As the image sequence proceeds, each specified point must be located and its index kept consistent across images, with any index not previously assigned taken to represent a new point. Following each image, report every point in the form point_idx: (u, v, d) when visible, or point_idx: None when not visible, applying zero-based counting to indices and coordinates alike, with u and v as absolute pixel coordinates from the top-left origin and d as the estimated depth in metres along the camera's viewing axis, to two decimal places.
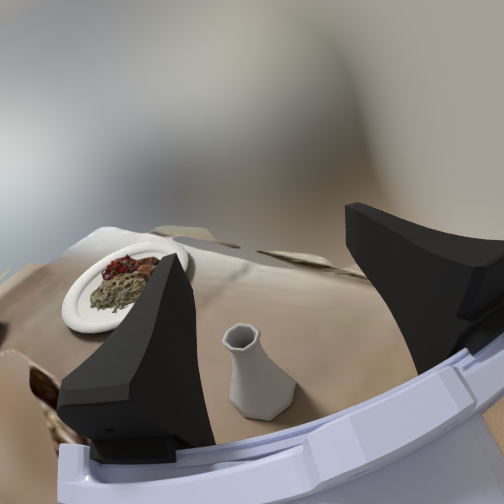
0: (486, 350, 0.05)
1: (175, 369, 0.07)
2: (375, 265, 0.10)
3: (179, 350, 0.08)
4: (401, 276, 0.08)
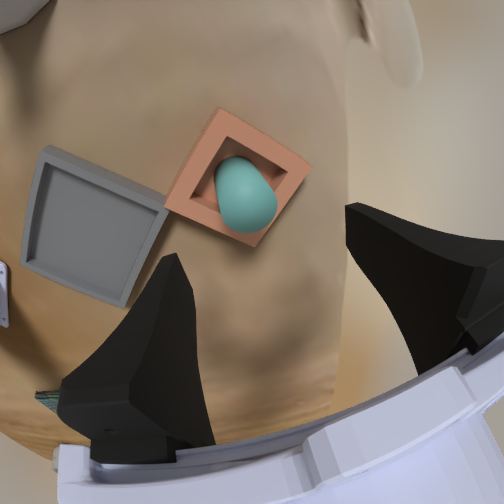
0: (486, 350, 0.05)
1: (175, 369, 0.07)
2: (375, 264, 0.10)
3: (179, 350, 0.08)
4: (401, 276, 0.08)
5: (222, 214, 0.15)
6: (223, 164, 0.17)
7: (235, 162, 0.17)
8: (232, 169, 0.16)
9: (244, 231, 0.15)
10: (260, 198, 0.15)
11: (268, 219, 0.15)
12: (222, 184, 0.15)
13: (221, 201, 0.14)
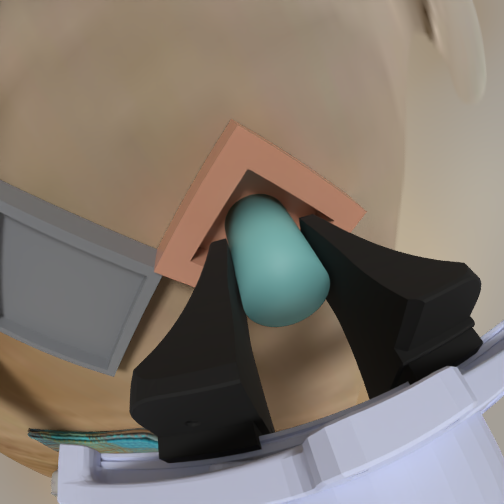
0: (486, 350, 0.05)
1: (246, 352, 0.07)
2: None
3: (243, 334, 0.08)
4: (347, 296, 0.08)
5: (245, 307, 0.09)
6: (241, 211, 0.12)
7: (260, 209, 0.11)
8: (258, 226, 0.10)
9: (277, 325, 0.10)
10: (306, 282, 0.09)
11: (313, 307, 0.10)
12: (243, 253, 0.10)
13: (244, 289, 0.09)
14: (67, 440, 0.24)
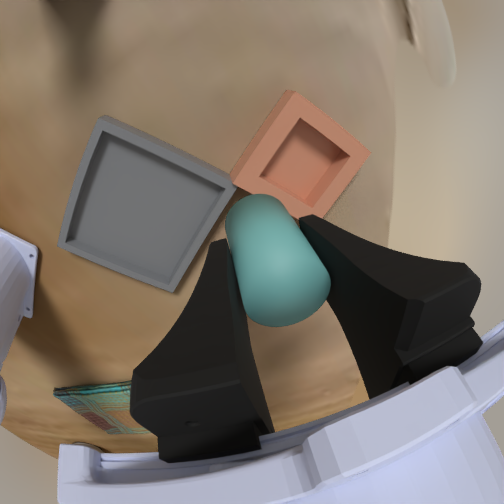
0: (486, 350, 0.05)
1: (246, 352, 0.07)
2: None
3: (243, 334, 0.08)
4: (347, 296, 0.08)
5: (246, 307, 0.09)
6: (241, 210, 0.12)
7: (260, 209, 0.11)
8: (258, 226, 0.10)
9: (277, 325, 0.10)
10: (307, 282, 0.09)
11: (314, 307, 0.10)
12: (244, 253, 0.10)
13: (245, 289, 0.09)
14: (96, 393, 0.29)
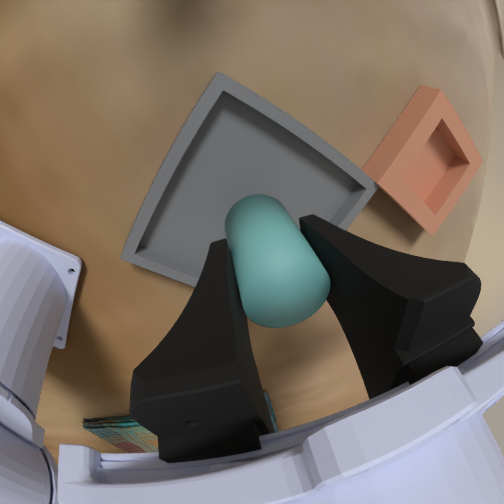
0: (486, 350, 0.05)
1: (246, 352, 0.07)
2: None
3: (243, 334, 0.08)
4: (347, 296, 0.08)
5: (245, 308, 0.09)
6: (241, 211, 0.12)
7: (260, 210, 0.11)
8: (258, 226, 0.10)
9: (277, 325, 0.10)
10: (307, 283, 0.09)
11: (314, 308, 0.10)
12: (243, 254, 0.10)
13: (244, 289, 0.09)
14: (140, 425, 0.25)
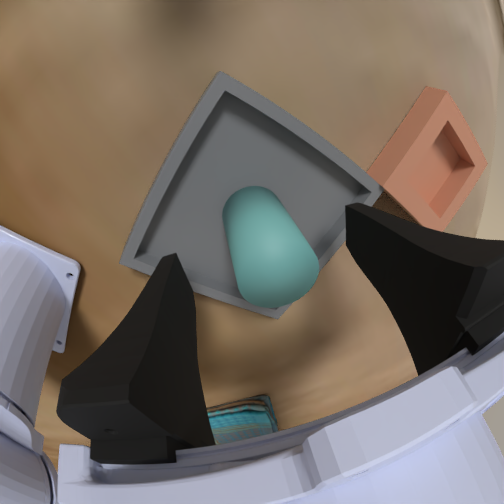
0: (486, 350, 0.05)
1: (175, 369, 0.07)
2: (375, 264, 0.10)
3: (179, 350, 0.08)
4: (401, 276, 0.08)
5: (240, 287, 0.10)
6: (237, 201, 0.13)
7: (254, 199, 0.12)
8: (252, 214, 0.11)
9: (270, 306, 0.11)
10: (296, 264, 0.10)
11: (304, 289, 0.11)
12: (238, 238, 0.11)
13: (239, 269, 0.10)
14: None
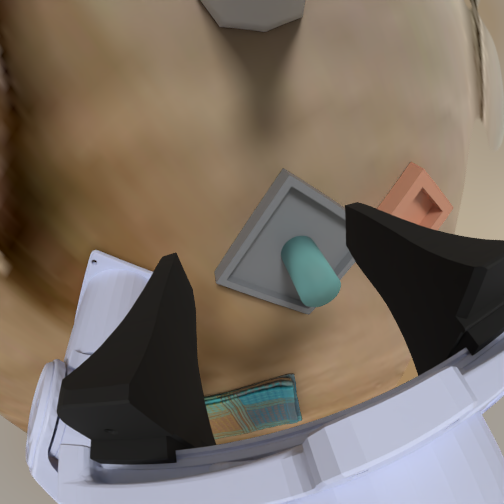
0: (486, 350, 0.05)
1: (175, 369, 0.07)
2: (374, 264, 0.10)
3: (179, 350, 0.08)
4: (401, 276, 0.08)
5: (301, 297, 0.19)
6: (293, 246, 0.22)
7: (304, 246, 0.21)
8: (305, 257, 0.20)
9: (314, 306, 0.20)
10: (330, 284, 0.19)
11: (332, 297, 0.20)
12: (299, 271, 0.20)
13: (302, 288, 0.19)
14: None
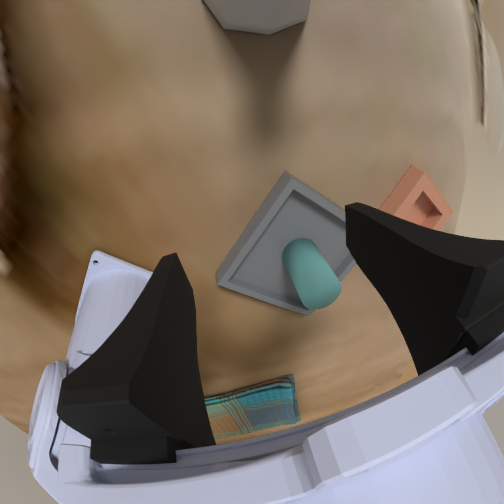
0: (486, 350, 0.05)
1: (175, 369, 0.07)
2: (374, 264, 0.10)
3: (179, 350, 0.08)
4: (401, 276, 0.08)
5: (302, 299, 0.19)
6: (294, 249, 0.22)
7: (305, 249, 0.21)
8: (306, 259, 0.20)
9: (315, 308, 0.20)
10: (330, 287, 0.19)
11: (333, 299, 0.20)
12: (300, 273, 0.20)
13: (303, 290, 0.19)
14: None
